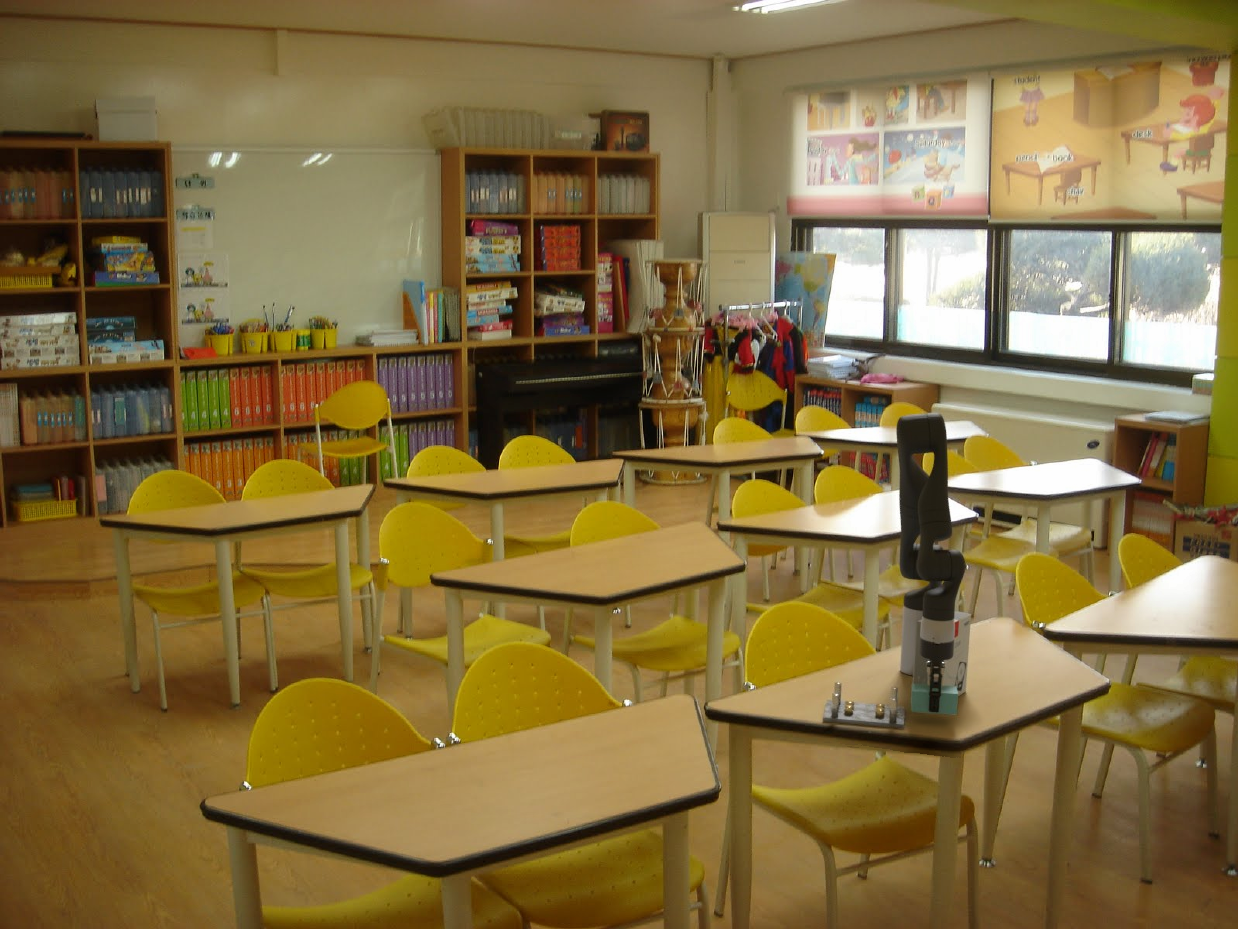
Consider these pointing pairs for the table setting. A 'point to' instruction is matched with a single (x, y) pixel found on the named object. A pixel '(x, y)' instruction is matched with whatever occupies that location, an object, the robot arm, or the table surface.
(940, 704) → the green box
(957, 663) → the hard drive box
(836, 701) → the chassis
